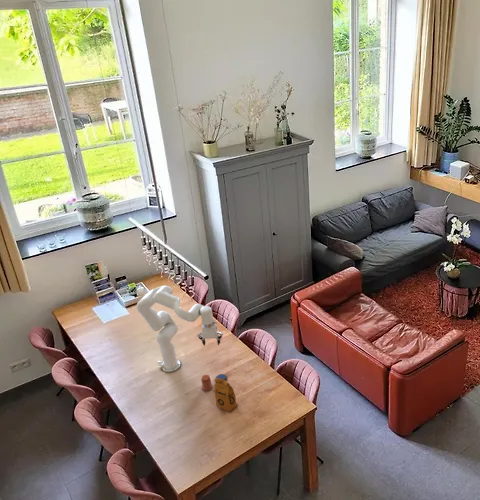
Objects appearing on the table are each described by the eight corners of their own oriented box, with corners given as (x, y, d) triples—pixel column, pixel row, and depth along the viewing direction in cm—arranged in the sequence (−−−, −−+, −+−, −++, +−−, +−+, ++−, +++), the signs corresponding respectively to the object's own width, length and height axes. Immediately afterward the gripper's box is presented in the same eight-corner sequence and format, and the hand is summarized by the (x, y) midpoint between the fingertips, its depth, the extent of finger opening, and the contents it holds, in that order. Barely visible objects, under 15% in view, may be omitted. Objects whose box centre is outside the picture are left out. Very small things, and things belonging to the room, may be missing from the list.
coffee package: (228, 414, 337) (224, 388, 327) (214, 407, 343) (210, 381, 333) (239, 404, 345) (235, 379, 334) (225, 397, 351) (221, 372, 340)
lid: (217, 376, 369) (216, 374, 369) (226, 375, 370) (226, 373, 369) (215, 382, 364) (215, 380, 363) (225, 382, 364) (224, 380, 363)
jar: (202, 391, 356) (200, 380, 352) (203, 384, 362) (201, 374, 357) (211, 390, 357) (209, 380, 352) (212, 384, 362) (210, 374, 357)
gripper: (222, 319, 355) (225, 340, 363) (196, 320, 354) (199, 341, 362) (220, 326, 348) (223, 347, 356) (193, 327, 347) (197, 348, 355)
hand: (211, 344), depth 359 cm, fingers open, 9 cm apart
